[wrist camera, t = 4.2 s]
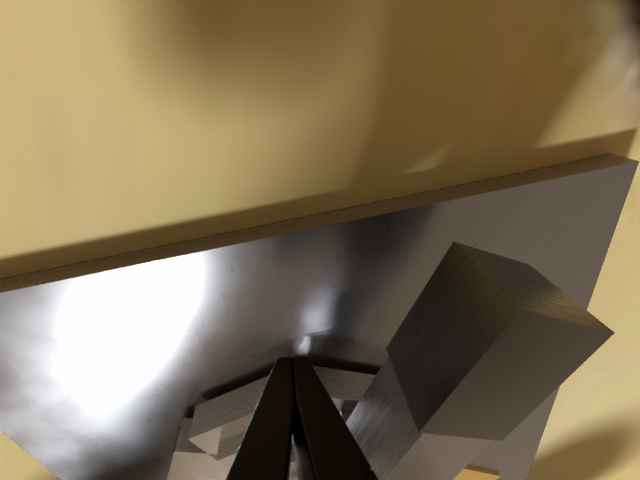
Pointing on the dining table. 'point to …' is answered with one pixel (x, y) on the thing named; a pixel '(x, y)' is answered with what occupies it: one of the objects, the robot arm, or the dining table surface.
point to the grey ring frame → (431, 375)
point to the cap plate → (273, 313)
